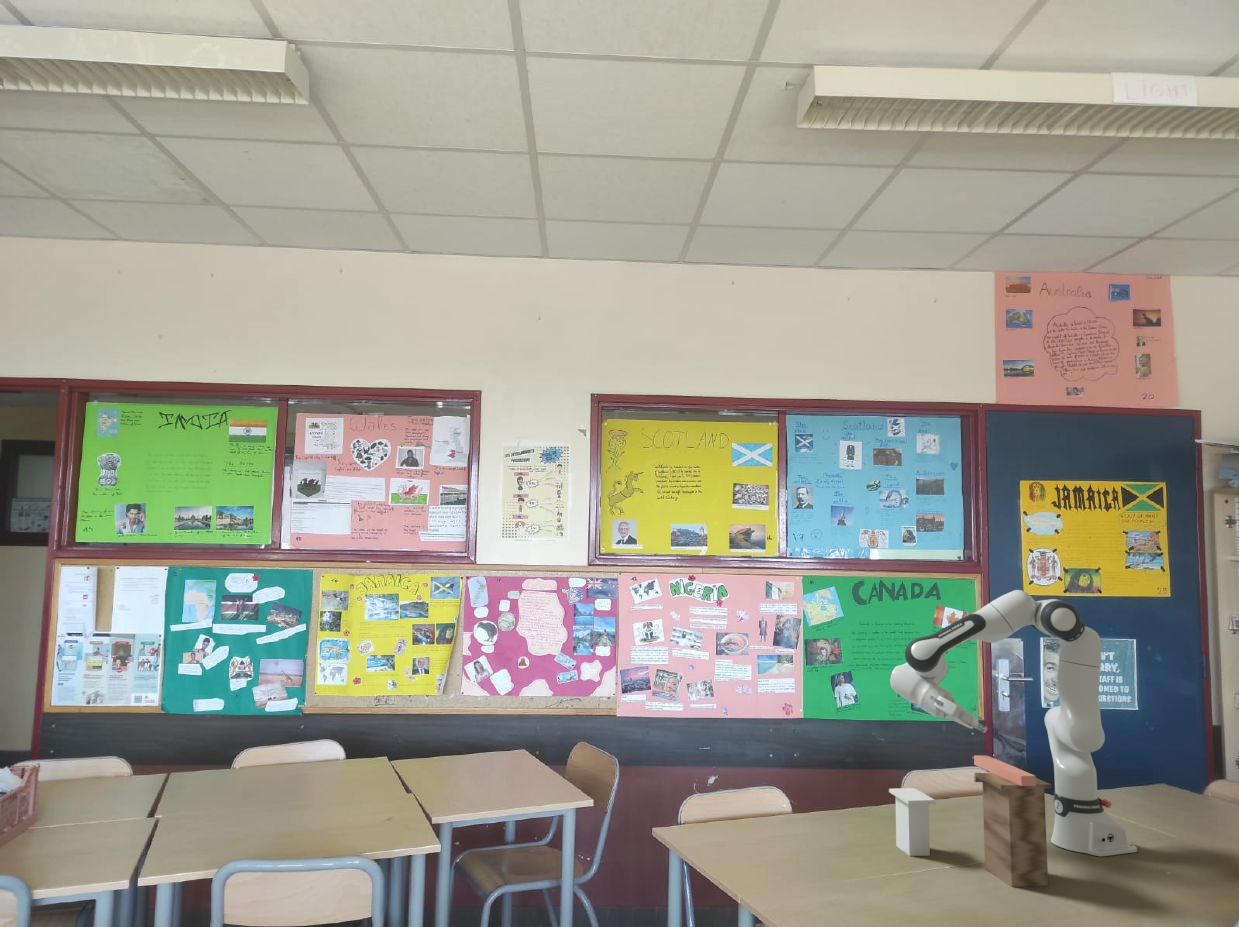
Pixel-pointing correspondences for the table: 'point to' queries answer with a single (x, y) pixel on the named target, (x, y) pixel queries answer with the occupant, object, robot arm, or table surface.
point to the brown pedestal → (1014, 830)
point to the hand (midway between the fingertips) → (981, 727)
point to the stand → (912, 821)
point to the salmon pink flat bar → (1005, 770)
